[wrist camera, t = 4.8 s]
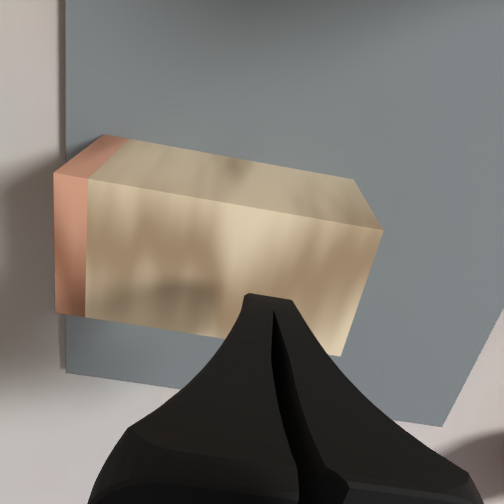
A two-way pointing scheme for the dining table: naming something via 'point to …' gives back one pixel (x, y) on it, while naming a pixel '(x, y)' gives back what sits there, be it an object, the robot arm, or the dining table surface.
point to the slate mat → (320, 161)
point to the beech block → (206, 239)
